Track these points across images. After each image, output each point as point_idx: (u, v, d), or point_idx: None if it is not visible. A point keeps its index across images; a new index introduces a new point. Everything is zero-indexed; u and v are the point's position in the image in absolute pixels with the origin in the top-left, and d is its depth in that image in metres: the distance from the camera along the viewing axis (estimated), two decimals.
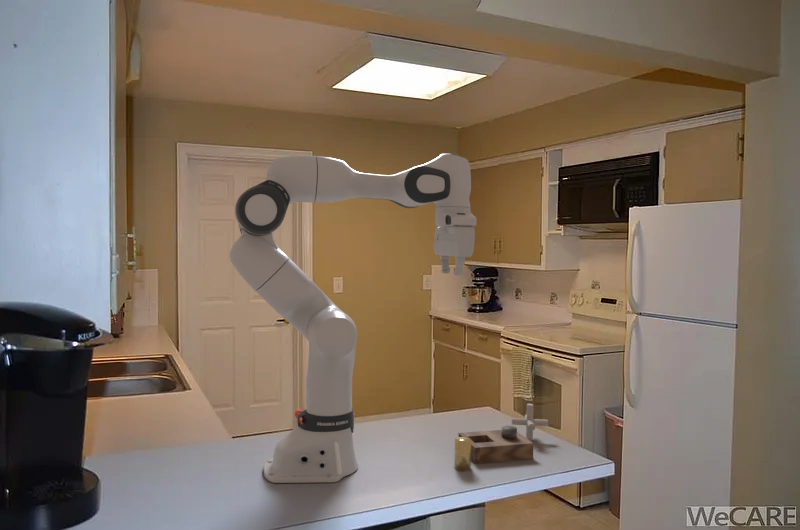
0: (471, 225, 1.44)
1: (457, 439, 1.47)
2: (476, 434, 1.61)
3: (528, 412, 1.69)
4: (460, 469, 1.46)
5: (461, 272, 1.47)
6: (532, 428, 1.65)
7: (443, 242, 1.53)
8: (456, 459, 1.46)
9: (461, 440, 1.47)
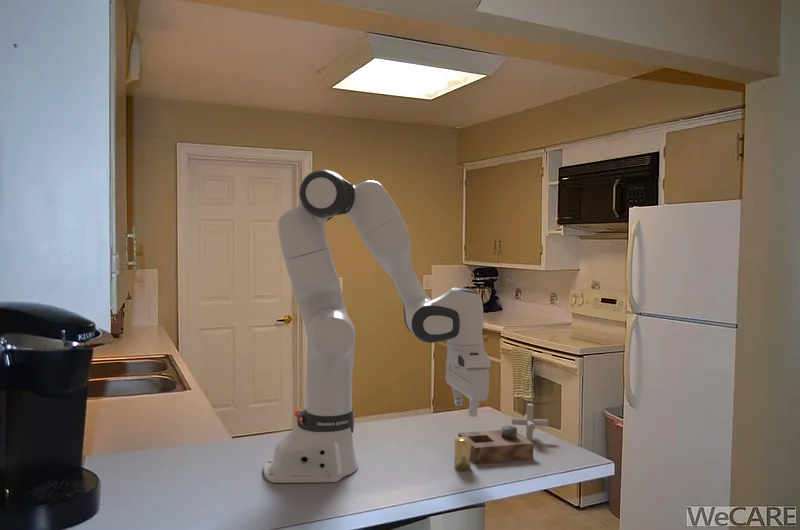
0: (485, 367, 1.39)
1: (457, 439, 1.47)
2: (476, 434, 1.61)
3: (528, 412, 1.69)
4: (460, 469, 1.46)
5: (475, 413, 1.42)
6: (532, 428, 1.65)
7: (455, 376, 1.48)
8: (456, 459, 1.46)
9: (461, 440, 1.47)
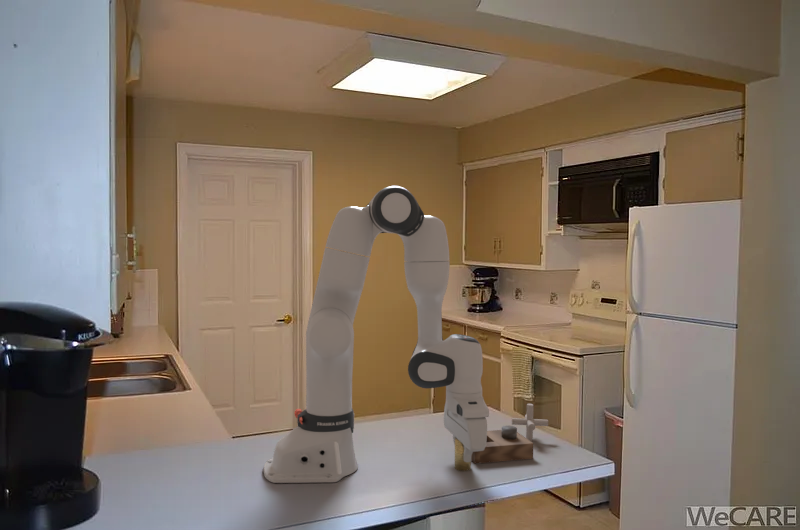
0: (483, 417, 1.40)
1: (457, 439, 1.47)
2: None
3: (528, 412, 1.69)
4: (460, 469, 1.46)
5: (469, 459, 1.45)
6: (532, 428, 1.65)
7: (453, 422, 1.49)
8: (457, 459, 1.46)
9: None
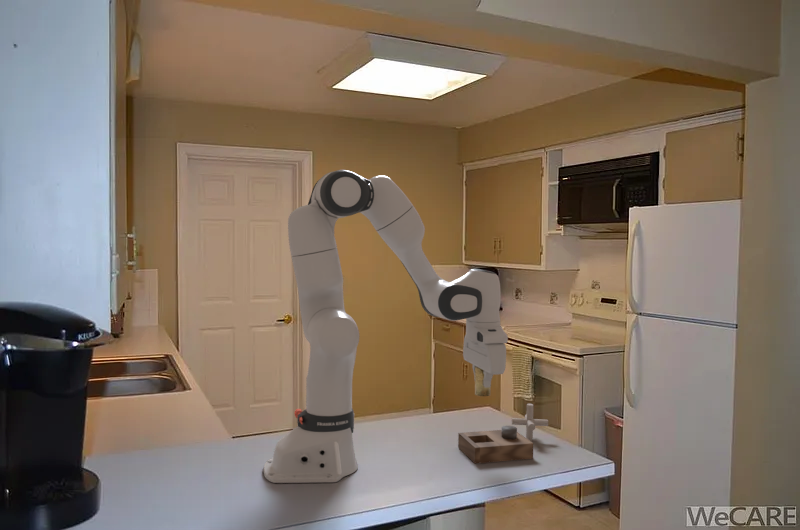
0: (502, 343, 1.49)
1: (477, 367, 1.57)
2: (476, 434, 1.61)
3: (528, 412, 1.69)
4: (480, 395, 1.55)
5: (489, 384, 1.54)
6: (532, 428, 1.65)
7: (473, 352, 1.58)
8: (477, 385, 1.56)
9: None
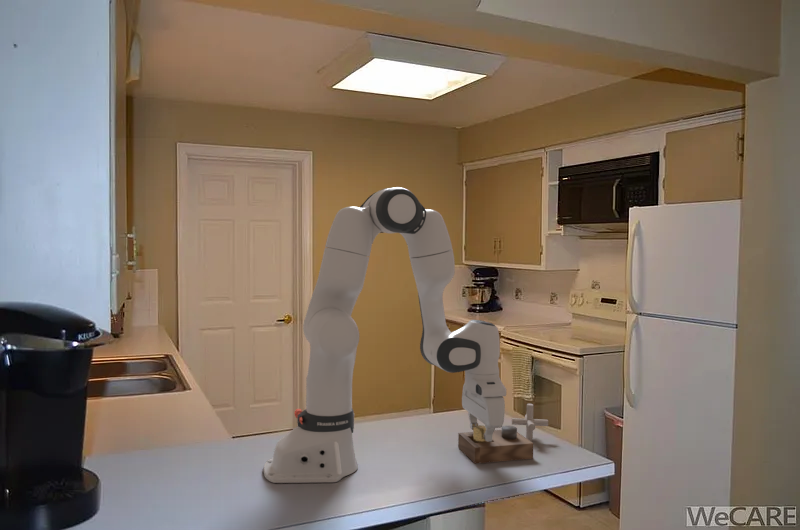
0: (501, 396, 1.49)
1: (475, 427, 1.57)
2: None
3: (528, 412, 1.69)
4: None
5: (490, 438, 1.52)
6: (532, 428, 1.65)
7: (472, 402, 1.59)
8: None
9: (479, 428, 1.57)
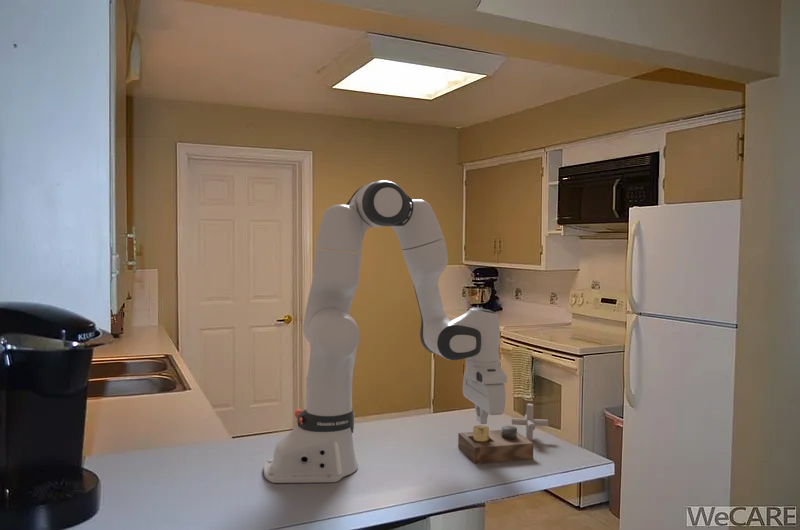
0: (502, 383, 1.49)
1: (475, 427, 1.57)
2: None
3: (528, 412, 1.69)
4: None
5: (485, 421, 1.56)
6: (532, 428, 1.65)
7: (472, 390, 1.58)
8: None
9: (479, 428, 1.57)
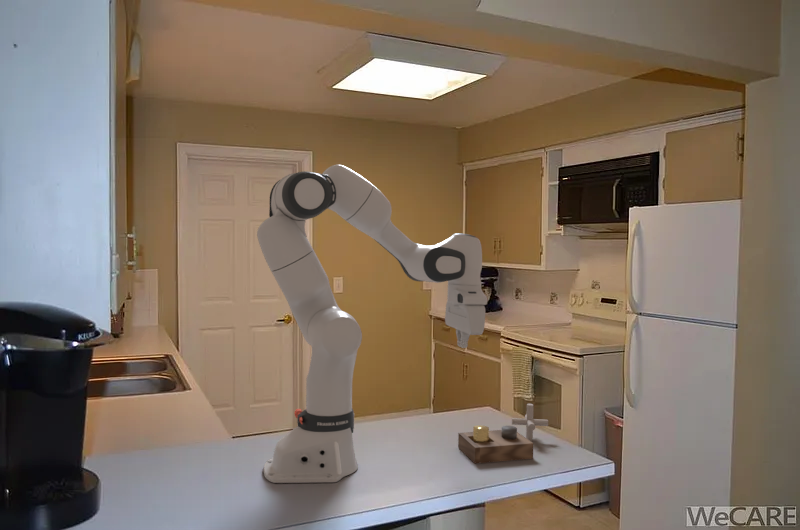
0: (482, 304, 1.52)
1: (475, 427, 1.57)
2: None
3: (528, 412, 1.69)
4: None
5: (466, 345, 1.59)
6: (532, 428, 1.65)
7: (454, 315, 1.61)
8: None
9: (479, 428, 1.57)
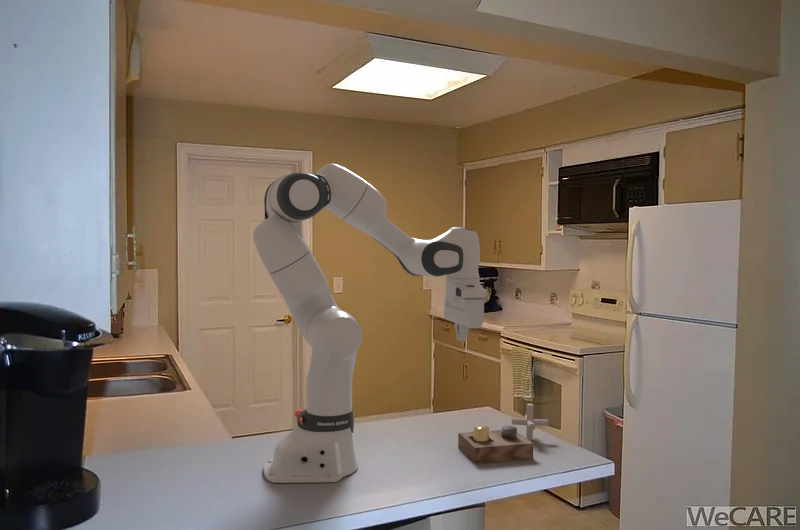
0: (480, 297, 1.52)
1: (475, 427, 1.57)
2: None
3: (528, 412, 1.69)
4: None
5: (465, 338, 1.59)
6: (532, 428, 1.65)
7: (453, 309, 1.61)
8: None
9: (479, 428, 1.57)
